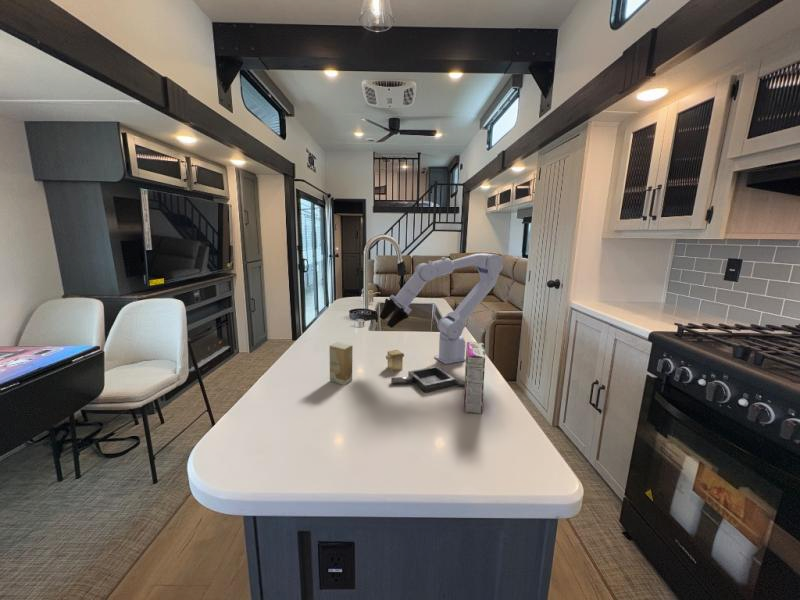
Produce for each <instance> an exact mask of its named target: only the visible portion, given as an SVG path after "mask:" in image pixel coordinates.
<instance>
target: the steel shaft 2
mask: <svg viewBox="0 0 800 600" xmlns="http://www.w3.org/2000/svg"><path fill="white" fill-rule="evenodd" d="M455 379H456V381H455V382H454V385H455V387H463V388H465V379H457V378H455Z"/></svg>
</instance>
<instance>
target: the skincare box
mask: <svg viewBox="0 0 800 600" xmlns="http://www.w3.org/2000/svg"><path fill="white" fill-rule="evenodd" d="M329 381H330V382H334V383H336V384H340V385H343V386H345V385H347V384H349V383H350V382H352V381H353V345H352V344H348V343H344V342H338V341H336V342H334V343H332V344H330V345H329Z"/></svg>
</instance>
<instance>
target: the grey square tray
mask: <svg viewBox="0 0 800 600" xmlns="http://www.w3.org/2000/svg"><path fill="white" fill-rule="evenodd" d="M407 375H408V376H407V377H413V378H414V383H413V384H414V385H415V386H416V388H418V389H419V390H420V391H422V392H423V393H424V394H429V393H432V392H433V393H434V392H437V391H441V390H446V389H450V388H454V387H456V386H455V385H454V382H455V381H456V379H457V378H455V377H454V376H452V375H450V374H449V373H448V372H446V371H445V370H443V369H442V368H440V367H439V366H438V365H435V366H430V367H424V368H419V369H414V370H410V371H409V370H408V374H407Z"/></svg>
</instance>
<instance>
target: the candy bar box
mask: <svg viewBox="0 0 800 600" xmlns="http://www.w3.org/2000/svg"><path fill="white" fill-rule="evenodd" d="M465 359H466V360H465V366H464V367H465V368H464V369H465V370H464V380H465V387H464V391H463V392H464V396H463V397H464V399H463V400H464V404H463V405H464V413H468V414H469V413H470V414H478V415H479V414H480V415H482V414H483V402H484V401H483V400H484V386H485V385H484V384H485V383H484V382H485V369H486V368H485V363H486V351H485V345H484V342H475V341H474V342H473V341H467V342H466V347H465Z"/></svg>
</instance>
